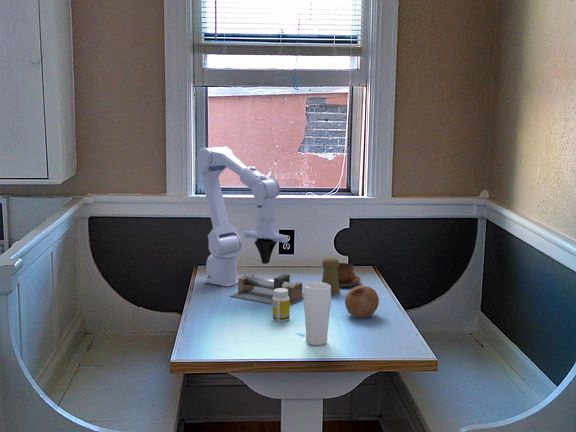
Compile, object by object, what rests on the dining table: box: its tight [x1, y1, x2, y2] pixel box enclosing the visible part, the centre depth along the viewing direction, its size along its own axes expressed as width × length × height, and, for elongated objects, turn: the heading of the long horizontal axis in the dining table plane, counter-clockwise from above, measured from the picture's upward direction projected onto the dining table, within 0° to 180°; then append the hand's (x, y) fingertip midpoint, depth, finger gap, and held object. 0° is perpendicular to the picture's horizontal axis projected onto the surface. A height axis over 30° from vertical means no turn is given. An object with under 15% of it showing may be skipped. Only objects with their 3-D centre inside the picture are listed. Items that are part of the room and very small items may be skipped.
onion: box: [344, 285, 380, 319], centre depth 204 cm, size 10×9×10 cm
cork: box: [321, 257, 341, 296], centre depth 226 cm, size 6×6×11 cm
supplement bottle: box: [271, 288, 291, 323], centre depth 201 cm, size 5×5×8 cm
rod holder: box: [237, 273, 303, 303], centre depth 223 cm, size 19×6×5 cm, turn 60°
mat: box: [229, 287, 304, 306], centre depth 223 cm, size 20×14×1 cm
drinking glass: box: [303, 281, 332, 347], centre depth 183 cm, size 7×7×15 cm
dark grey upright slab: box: [273, 273, 291, 289], centre depth 220 cm, size 2×6×6 cm, turn 150°
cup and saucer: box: [337, 262, 361, 288], centre depth 236 cm, size 12×12×6 cm
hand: (265, 263), depth 222 cm, fingers closed
